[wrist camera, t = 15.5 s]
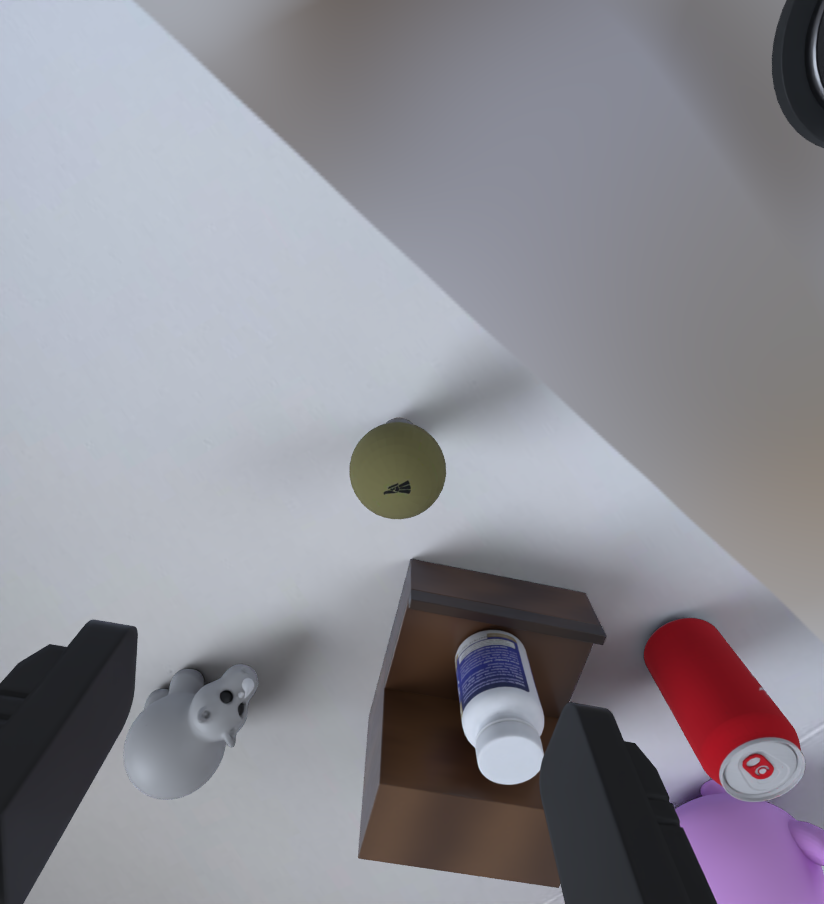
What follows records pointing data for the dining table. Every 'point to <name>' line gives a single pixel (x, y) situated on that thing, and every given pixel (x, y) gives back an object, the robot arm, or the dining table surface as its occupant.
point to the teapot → (753, 850)
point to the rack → (441, 732)
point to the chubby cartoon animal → (187, 731)
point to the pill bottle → (500, 706)
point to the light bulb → (397, 470)
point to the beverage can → (724, 711)
